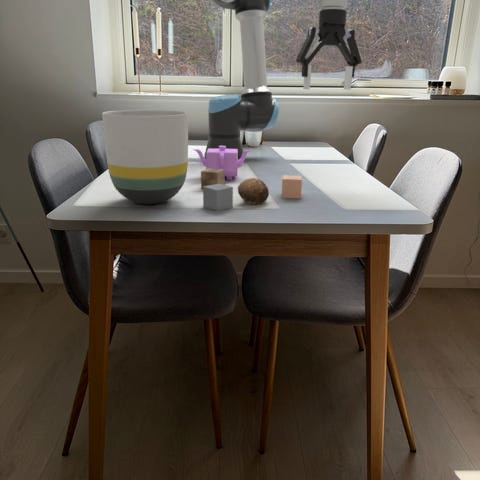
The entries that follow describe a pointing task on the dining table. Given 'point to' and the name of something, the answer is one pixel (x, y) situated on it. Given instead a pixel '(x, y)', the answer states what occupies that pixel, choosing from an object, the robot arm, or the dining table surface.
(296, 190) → the terracotta cube
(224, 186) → the slate cube
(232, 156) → the teapot
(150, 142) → the planter
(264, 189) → the mushroom
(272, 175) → the dining table surface
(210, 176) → the walnut cube
